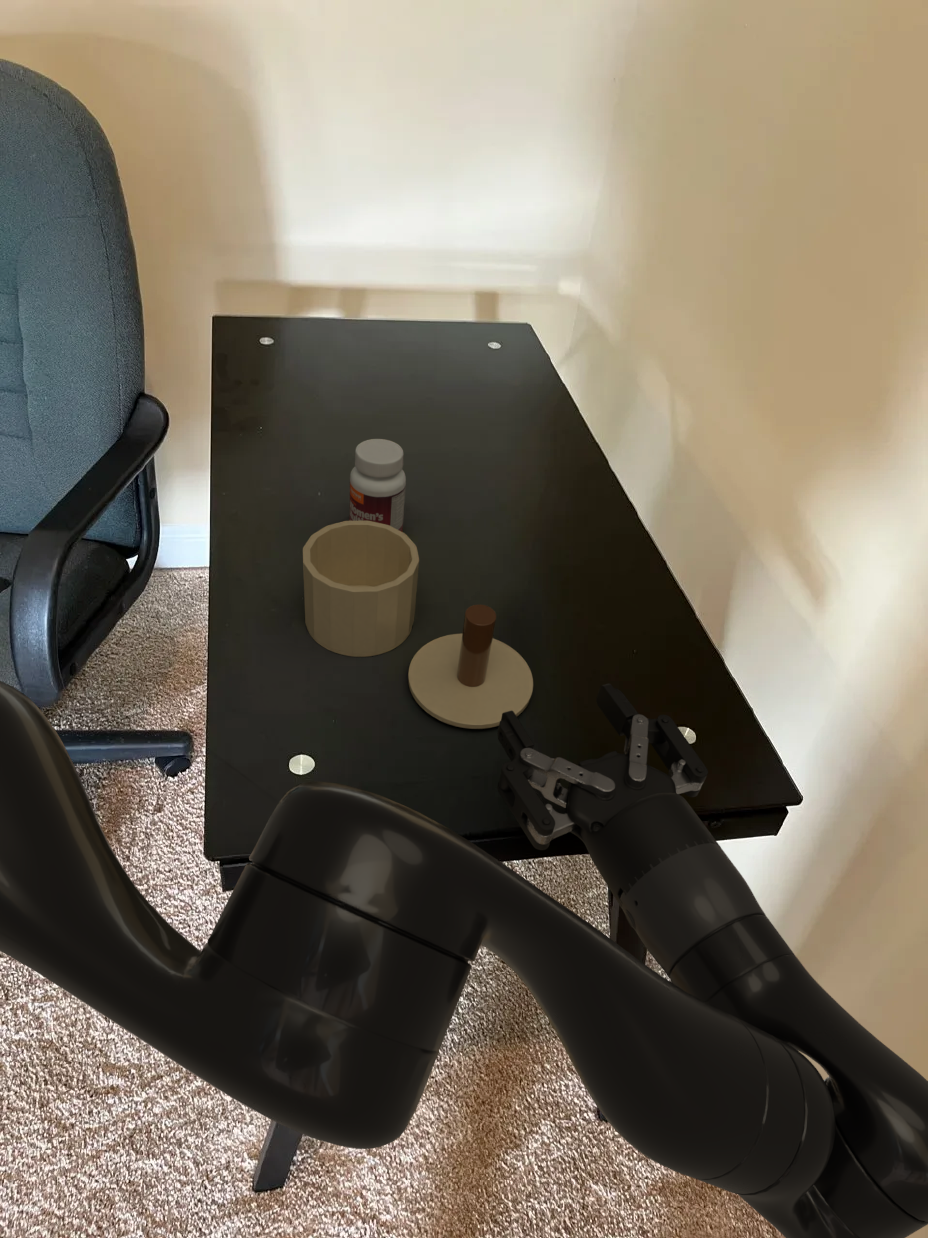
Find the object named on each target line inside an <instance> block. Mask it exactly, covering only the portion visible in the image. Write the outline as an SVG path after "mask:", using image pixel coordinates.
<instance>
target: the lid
mask: <svg viewBox="0 0 928 1238" xmlns="http://www.w3.org/2000/svg"><path fill="white" fill-rule="evenodd" d="M496 621H497V613H496V611H495V610H494V609H493V608H492V607H490V606H488V605H487V604H472V605H470V606H469V607H467V608H466V610H465V612H464V619H463V625H462V633H452V634H446V635H443V636H440V637H438V638H434V639H433V640H431V641H428V642H427V643H425V644H424V645H423V646H421V647H420V648H419V649H418V650H417V652H416V653H415V654H414V655H413V656H412V657H413V658H412V659H411V661H410V664H409V667H408V674H407V683H408V687H409V691H410V693H411V696H412V697H413V699H414V701H415V702H416V703H417V704H418V705H419V707H420V708H421V709H422V710H424V712H426V713H427V714H428V715H430V716H431V717H432V718H434V719H436V720H438V721H440V722H442V723H444V724H447V725H450V726H453V727H458V728H463V729H471V730H483V729H491V728H495V727H499V723H500V721H501V718H502V714H503V713H504V712H508V711H511V710H512V711H513V712H514V713H515V715H516V716H517V717H518V716H520V715H521V713H523V712H524V711H525V709H526V708H527V707H528V705H529V704H530V701H531V698H532V695H533V690H534V678H533V674H532V671H531V668H530V667H529V665H528V663H527V662H526V660H525V659H524V658H523V657H522V655H521V654H520V653H519V652H517V650H515V649H514V648H512V647H511V646H510V645H508V644H507V643H505V642H503V641H500V640H498V639H496V638H494V633H495V627H496Z"/></svg>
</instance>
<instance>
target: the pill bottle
mask: <svg viewBox="0 0 928 1238" xmlns="http://www.w3.org/2000/svg"><path fill="white" fill-rule="evenodd" d="M354 454H355V455H354V467H352V469H351V471H350V474H349V505H348V506H349V507H348V509H349V510H348V511H349V512H348V514H349V515H348V521H364V520H368V521H373V522H377V523H382V524H386V525H390V526H392V527H393V528H395V529H397V530H399V531H401V532H403V529H404V516H405V515H404V514H405V501H406V485H407V477H406V473H405V471H404V470H403V469H404V450H403V448H402V446H400V444H398V443H397V442H395V441H392V440H389V439H384V438H371V439H366V440H363V441H361V442H360V443H359V444H357V445H356V447H355V452H354Z"/></svg>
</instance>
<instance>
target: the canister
mask: <svg viewBox="0 0 928 1238" xmlns="http://www.w3.org/2000/svg"><path fill="white" fill-rule="evenodd" d="M302 568H303V571H302V572H303V592H304V593H303V594H304V595H303V597H304V598H303V599H304V618H305V619H304V621H305V626H306V630H307V632H308V633H309V636H310V637H311V638H312V639H313V641H314V642H315V643H317V644H318V645H319V646H321V647H322V648H324V649H326V650H328V651H329V652H332V653H335V654H338V655H341V656H345V657H354V658H365V657H366V658H367V657H372V656H379V655H382V654H385V653H388V652H391V651H393V650H394V649H396V648H398V647H399V646H400V645H401V644H403V643H404V642H405V641H406V640H407V639H408V637H409V636H410V634H411V632H412V630H413V626H414V622H415V619H416V617H415V616H416V604H417V593H418V581H419V568H420V556H419V551H418V547H417V545H416V544H415V542H414V541H412V540H411V538H410V536H408V534H406V533H405V532H403V531H402V532H401V531H399V530H397V529H395V528H393V527H392V526H390V525H386V524H382V523H377V522H373V521H368V520H364V521H349V520H344V521H340V522H336V523H331V524H329V525H326V526H324V527H322V528H320V529H319V530H317V531H316V532H314V533H312V534H311V535H310V537H309V538H308V539H307V541H306V542H305V544H304V546H303V547H302Z"/></svg>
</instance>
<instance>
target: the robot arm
mask: <svg viewBox="0 0 928 1238" xmlns="http://www.w3.org/2000/svg"><path fill="white" fill-rule="evenodd" d="M595 701H596V704H597V707H598V708H599V709H600V711H601V712H602V714H603V715H604V716H605V718H606V719H607V720H608V722H609V723H610V724H611V726H612V728H613V729H614V730H615V731H616V733H617V734H618V736H619V737H621V736H625V740H624V747H623V753H618V751H617V750H613V751H609V752H606V753H605V754H603V755H602V756H600V757H599V758H587V759H585V760H582V761H578V764H575V763H573V762H572V761H570V760H567V759H565V758H563V757H561V756H558V757H555V758H554V757H551V756H549V755H546V754H544V753H542V752H540V751H538V750H536V749H534V747H535V743H534V741H533V740H532V738H531V737H530V735H529V733H528V732H527V730H526V729H525V727H524V726H523V724H522V723H521V721H520V719H519V717H518V716H516V715H515V713H514V712H513V711H512V710H511V711H508V712H504V713H503V714H502V718H501V721H500V723H499V726H498V727H497V740H498V742H499V743H500V745H501V747H502V748H503V750H504V751H505V754H506V755H507V757H508V758H509V760H508V761H505V762H503V763H502V764H501V768H500V775H499V780H498V783H497V787H496V788H497V790H496V791H497V792H498V794H499V795H500V797H501V798H502V800H503V801H504V803H505V805H506V806H507V808H508V809H509V811H510V812H511V814H512V815H513V817H514V818H515V821H516V822H517V823H518V825H519V826H520V828H521V829H522V831H523V832H524V834H525V836H526V838H527V840H529V842H530V844H531V845H532V847H533V848H534V849H536V850H538V851H545V850H547V849H548V848H549V846H550V843H551V841H552V840H554V839H556V838H560V837H561V836H563V835H566V834H568V833H571V834H572V835H574V836H576V837H577V838H578V839H580V840H581V841H582V842H583V844H584V845H585V848H586V850H587V853H588V854H589V857H590V859H591V861H592V863H593V864H594V866H595V867H596V869H597V871H598V872H599V874H600V876H601V877H602V879H603V881H604V883H605V884H606V885H607V887H608V889H609V891H610V892H611V894H612V895H613V897H614V898H615V900H616V902H617V903H618V905H619V907H620V909H621V910H622V912H623V913H624V916H625V919H626V921H627V923H628V924H629V926H630V927H631V928H633V929H634V931H635V933H636V934H637V936H638V938H639V940H640V941H641V943H642V944H643V945H644V947H645V949H646V950H647V951H648V952H649V954H650V955H651V956H652V958H653V959H654V960H655V961H656V962H657V964H658V965H659V966H660V967H661V969H662V970H663V972H664V973H665V974H666V976H667V978H669V979H667V978H666V977H664V976H663V975H661V974H660V973H658V972H657V971H655V970H654V969H653V968H651V967H650V966H648V965H646V964H645V963H643V962H642V961H641V960H639V958H637V957H635V956H634V955H633V954H632V953H630V952H629V951H628V950H626V949H625V948H624V947H623V946H621V945H620V944H618V943H617V942H616V941H615V940H613V939H612V938H611V937H609V936H608V935H607V934H605V933H604V932H603V931H600V930H599V929H598V928H596V927H595V926H594V925H593V924H591V923H590V922H588V921H587V920H585V919H584V918H583V917H581V916H580V915H578V913H576V912H575V911H573V910H572V909H570V908H569V907H567V906H565V905H564V904H563V903H561V902H560V901H558V900H556V899H555V898H554V897H552V896H550V895H549V894H548V893H546V892H545V891H543V890H542V889H540V888H539V887H537V886H536V885H535V884H533V883H532V882H530V881H529V880H527V879H526V878H524V877H523V876H522V875H521V874H519V873H517V872H516V871H515V870H514V869H512V868H511V867H509V866H508V865H506V864H505V863H503V862H501V861H500V860H499V859H497V858H496V857H494V856H493V855H492V854H490V853H489V852H487V851H485V850H484V849H482V847H480V846H477V845H476V844H475V843H473V842H471V841H470V840H469V839H467V838H465V837H464V836H462V835H460V834H458V833H457V832H456V831H454V830H452V829H451V828H449V827H447V826H445V825H443V824H442V823H440V822H438V821H437V820H434V819H433V818H430V817H429V816H427V815H426V814H423V813H422V812H420V811H417V810H416V809H413V808H411V807H409V806H406V805H403V804H401V803H400V802H397V801H395V800H392V799H390V798H388V797H386V796H383V795H380V794H378V793H374V792H371V791H368V790H364V789H362V788H358V787H354V786H351V785H347V784H343V783H338V782H331V781H325V780H324V781H323V780H322V781H318V780H317V781H315V780H313V781H305V782H301V783H299V784H296V785H294V786H292V787H291V788H290V789H289V790H287V791H286V793H284V795H283V796H282V797H281V799H280V800H279V801H278V803H277V805H276V806H275V808H274V809H273V811H272V813H271V815H270V816H269V818H268V821H267V822H266V824H265V826H264V828H263V830H262V832H261V834H260V836H259V838H258V840H257V842H256V843H255V846H254V847H253V849H252V851H251V853H250V855H249V856H248V859H249V861H250V862H251V863H250V862H247V863H245V866H244V868H243V870H242V872H241V874H240V876H239V878H238V880H237V882H236V884H235V886H234V888H233V890H232V891H231V894H230V896H229V898H228V900H227V902H226V904H225V906H224V908H223V910H222V911H221V914H220V916H219V918H218V920H217V922H216V924H215V926H214V927H213V930H212V931H211V933H210V936H209V937H208V939H207V942H205V944H204V946H203V947H202V949H201V950H200V949H199V948H198V947H196V946H195V945H194V944H193V943H192V942H190V940H189V939H188V938H186V937H185V936H184V935H182V934H181V933H180V932H179V931H178V930H177V929H175V928H174V927H173V926H172V925H171V924H170V923H169V922H168V920H166V919H165V918H164V917H163V915H161V913H160V912H158V910H157V909H156V908H155V907H154V906H153V905H152V904H151V903H150V901H148V900H147V899H146V897H145V896H144V895H143V893H142V892H141V891H140V890H139V888H138V887H137V886H136V884H135V883H134V882H133V880H132V879H131V877H130V876H129V874H128V872H127V871H126V869H125V868H124V867H123V865H122V863H121V862H120V860H119V858H118V857H117V855H116V853H115V852H114V850H113V848H112V845H110V842H109V840H108V838H107V836H106V834H105V832H104V830H103V828H102V826H101V823H100V822H99V820H98V816H97V814H96V812H95V809H94V808H93V805H92V803H91V800H90V798H89V795H88V793H87V791H86V788H85V786H84V784H83V781H82V780H81V777H80V776H79V773H78V769H77V768H76V766H75V764H74V762H73V759H72V757H71V756H70V754H69V752H68V750H67V748H66V746H65V744H64V742H63V741H62V738H61V737H60V736H59V734H58V732H57V731H56V729H55V727H54V726H53V724H52V723H51V722H50V720H49V719H48V718H47V716H46V715H45V713H43V711H42V710H41V709H40V707H38V705H37V704H36V703H35V702H34V701H33V700H32V699H31V698H29V697H28V695H26V694H25V693H23V692H22V691H20V690H19V689H17V688H16V687H14V686H13V685H11V684H9V683H7V682H4V681H2V680H0V952H1V953H3V954H5V955H7V956H8V957H9V958H12V959H13V960H15V961H16V962H19V963H20V964H22V965H24V966H25V967H27V968H29V969H30V970H32V971H34V972H35V973H37V974H39V975H40V976H42V977H43V978H45V979H47V980H48V981H50V982H51V983H52V984H55V985H56V986H57V987H59V988H61V989H62V990H64V992H66V993H68V994H70V995H71V996H72V997H74V998H76V999H77V1000H79V1001H80V1002H81V1003H83V1004H85V1005H86V1006H88V1007H90V1008H91V1009H93V1010H94V1011H95V1012H98V1013H99V1014H100V1015H102V1016H103V1017H105V1018H107V1019H108V1020H110V1021H111V1022H113V1023H114V1024H116V1025H117V1026H118V1027H120V1028H122V1029H123V1030H125V1031H126V1032H128V1033H130V1035H132V1036H134V1037H136V1038H137V1039H138V1040H140V1041H141V1042H143V1043H145V1044H146V1045H148V1046H149V1047H150V1048H153V1049H154V1050H156V1051H157V1052H159V1053H160V1054H162V1055H163V1056H165V1057H166V1058H167V1059H169V1060H171V1061H172V1062H174V1063H176V1064H177V1065H178V1066H180V1067H182V1068H183V1069H185V1070H186V1071H188V1072H189V1073H191V1074H193V1075H194V1076H195V1077H197V1078H199V1080H202V1081H203V1082H205V1083H206V1084H209V1085H210V1086H212V1087H213V1088H215V1089H216V1090H218V1091H220V1092H222V1093H223V1094H224V1095H226V1096H228V1097H230V1098H231V1099H234V1100H235V1101H236V1102H238V1103H240V1104H241V1105H242V1106H244V1107H246V1108H248V1109H249V1110H252V1111H253V1112H256V1113H258V1114H259V1115H261V1116H263V1117H264V1118H267V1119H269V1120H271V1121H272V1122H275V1123H277V1124H279V1125H281V1126H283V1127H285V1128H287V1129H290V1130H292V1131H295V1132H297V1133H300V1134H302V1135H303V1136H306V1137H308V1138H310V1139H314V1140H317V1141H320V1142H325V1143H328V1144H332V1145H334V1146H339V1147H342V1148H347V1149H348V1148H349V1149H355V1150H371V1149H379V1148H380V1147H384V1146H387V1145H389V1144H392V1143H394V1142H395V1141H396V1140H398V1139H399V1138H401V1136H402V1135H403V1133H405V1131H406V1130H407V1128H408V1127H409V1124H410V1122H411V1120H412V1118H413V1117H414V1115H415V1113H416V1112H417V1111H416V1110H417V1109H418V1106H419V1105H420V1102H421V1099H422V1097H423V1094H424V1091H425V1090H426V1087H427V1084H428V1082H429V1079H430V1076H431V1073H432V1071H433V1068H434V1066H435V1063H436V1060H437V1059H438V1056H439V1054H440V1050H441V1047H442V1045H443V1042H444V1039H445V1038H446V1035H447V1032H448V1030H449V1027H450V1024H451V1022H452V1019H453V1017H454V1014H455V1011H456V1008H457V1006H458V1003H459V1001H460V999H461V996H462V993H463V991H464V988H465V986H466V983H467V980H468V978H469V975H470V972H471V970H472V968H473V967H472V964H471V963H474V962H475V961H476V959H477V956H478V954H479V951H480V948H481V946H483V947H484V948H486V949H487V950H489V951H490V952H492V953H493V954H494V955H495V956H497V957H498V958H499V959H500V960H501V961H503V962H504V964H505V965H507V966H508V967H509V968H510V969H511V970H512V972H513V973H514V974H516V975H517V976H518V978H519V980H520V981H521V982H522V983H523V984H524V985H525V987H526V988H527V989H528V990H529V992H530V994H531V995H532V997H533V998H534V1000H535V1002H536V1003H537V1004H538V1005H539V1007H540V1009H541V1010H542V1012H543V1013H544V1014H545V1015H544V1016H546V1018H547V1020H548V1021H549V1023H550V1025H551V1027H552V1028H553V1030H554V1032H555V1034H556V1037H558V1040H559V1042H560V1043H561V1045H562V1046H563V1048H564V1051H565V1053H566V1054H567V1056H568V1058H569V1060H570V1062H571V1064H572V1066H573V1068H574V1070H575V1072H576V1074H577V1075H578V1077H579V1079H580V1081H581V1082H582V1085H583V1086H584V1088H585V1090H586V1091H587V1093H588V1095H589V1097H590V1098H591V1100H592V1102H594V1104H595V1106H596V1107H597V1109H598V1110H599V1111H600V1113H601V1114H602V1115H603V1117H604V1118H605V1119H606V1121H607V1123H609V1125H610V1126H611V1127H612V1128H613V1130H614V1131H615V1132H616V1133H617V1134H618V1135H619V1136H620V1137H621V1138H623V1139H624V1140H625V1141H626V1142H627V1143H628V1144H629V1145H630V1146H632V1147H633V1148H634V1149H635V1150H636V1151H637V1152H639V1153H640V1154H641V1155H643V1156H645V1157H646V1158H647V1159H649V1160H651V1161H652V1162H655V1163H656V1164H658V1165H661V1166H663V1167H665V1168H667V1169H669V1170H670V1171H673V1172H675V1173H679V1174H680V1175H684V1176H686V1177H689V1178H691V1179H694V1180H697V1181H699V1182H701V1183H705V1184H708V1185H710V1186H713V1187H716V1188H719V1189H721V1190H724V1191H726V1192H728V1193H731V1194H735V1195H738V1197H740V1198H741V1199H742V1200H744V1202H746V1204H748V1205H749V1207H750V1208H752V1209H753V1210H754V1211H756V1212H757V1213H758V1214H759V1215H760V1216H761V1217H762V1218H764V1220H766V1221H767V1222H768V1223H769V1224H771V1225H772V1227H774V1228H775V1230H777V1231H778V1232H780V1234H781V1235H782V1236H783V1237H784V1238H908V1237H909V1236H910V1235H912V1234H914V1233H916V1232H918V1231H920V1230H922V1229H923V1228H925V1227H926V1226H928V1080H927V1078H925V1077H924V1076H923V1075H922V1074H921V1073H920V1072H919V1071H917V1070H916V1069H915V1068H914V1067H912V1066H911V1064H909V1063H908V1062H907V1061H906V1060H904V1059H903V1058H902V1057H900V1055H898V1054H897V1053H895V1051H894V1050H892V1049H890V1047H888V1046H887V1045H886V1044H885V1043H883V1041H881V1040H880V1039H878V1038H877V1037H876V1036H875V1035H874V1034H873V1033H872V1032H871V1031H870V1030H868V1029H867V1028H866V1027H865V1026H863V1025H862V1024H861V1023H860V1022H859V1021H858V1020H857V1019H856V1018H855V1017H853V1016H852V1015H851V1014H850V1013H849V1012H848V1011H847V1010H846V1009H845V1008H844V1007H843V1006H841V1004H840V1003H839V1002H838V1001H837V1000H836V999H834V998H833V996H831V995H830V994H829V993H828V992H827V990H825V988H823V987H822V985H821V984H820V983H818V981H816V979H815V978H814V977H813V976H812V975H811V973H810V972H809V971H808V970H807V969H806V967H805V966H804V965H803V963H802V962H801V961H800V959H799V958H798V957H797V955H796V954H795V953H794V952H793V950H792V949H791V948H790V946H789V944H787V942H786V941H785V939H784V938H783V936H782V935H781V934H780V932H779V931H778V930H777V929H776V927H775V925H774V924H773V923H772V921H770V919H769V918H768V917H767V914H766V913H765V911H764V910H763V908H762V907H761V906H760V903H759V901H758V900H757V897H756V896H755V895H754V893H753V891H752V889H751V887H750V886H749V884H748V883H747V880H746V879H745V878H744V877H743V875H742V874H741V872H740V871H739V870H738V868H737V867H736V866H735V864H734V863H733V862H732V860H731V859H730V858H729V856H728V855H727V854H726V853H725V851H724V850H723V848H722V847H721V845H720V844H719V843H718V842H717V840H716V839H715V837H714V836H713V834H712V833H711V831H710V830H709V829H708V828H707V826H706V825H705V823H703V821H702V820H701V818H700V817H699V816H698V814H697V813H696V812H695V810H694V808H693V807H692V806H691V805H690V803H689V802H688V801H687V799H685V798H684V796H682V795H680V794H684V795H685V796H686V797H689V798H695V797H697V796H698V795H699V793H700V792H701V789H702V787H703V785H704V783H705V780H706V779H707V777H708V775H709V770H708V768H707V766H706V765H705V764H704V762H703V760H702V759H701V758H700V757H699V755H698V754H697V752H696V751H695V750H694V748H693V746H692V745H691V744H690V742H689V741H688V740H687V738H686V737H685V735H684V734H683V732H682V731H681V730H680V728H679V726H677V724H676V722H675V721H674V720H673V718H672V717H671V716H670V715H667V714H659V715H658V716H657V718H647V717H646V716H645V715H643V714H641V713H639V712H638V711H637V709H636V708H635V706H633V704H632V703H631V701H630V700H629V699H628V698H627V697H626V694H625V693H624V692H622V691H621V690H620V689H618V688H617V687H616V688H615V687H614V686H613V685H612V684H611V683H606V684H602V685H600V686H599V688H598V692H597V695H596V699H595ZM649 744H650V745H651V747H652V748H653V749H654V751H655V752H656V754H657V755H658V757H659V758H660V759H661V761H662V763H663V764H664V766H665V767H666V769H667V770H668V772H667V773H666V772H664V771H662V770H660V769H657V768H656V767H653V766H651V765H649V764H647V763H648V752H649ZM561 779H562V780H565V781H567V782H568V787H567V788H566V787H564V786H563V785H562V784H561ZM536 790H538V791H539V792H540V793H541V794H542V796H543V798H545V799H546V800H548V801H550V802H552V803H554V804H556V805H558V806H559V807H562V808H564V813H560V812H558V811H556V810H555V809H554V808H553V805H552V804H550V803H546V804H545V803H544V802H543V800H542V799H541V797H540V796H539V795H538V793H537V791H536ZM469 962H471V963H469ZM806 1056H807V1057H806ZM808 1058H810V1059H811V1060H812V1061H814V1062H815V1063H816V1064H818V1065H819V1066H820V1068H822V1070H823V1071H824V1072H825V1074H826V1075H827V1077H825V1078H824V1077H823V1075H822V1074H821V1073H820V1071H819V1070H818V1069H817V1067H816V1066H815V1065H814V1064H813V1063H812V1061H810V1060H809V1059H808Z"/></svg>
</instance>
